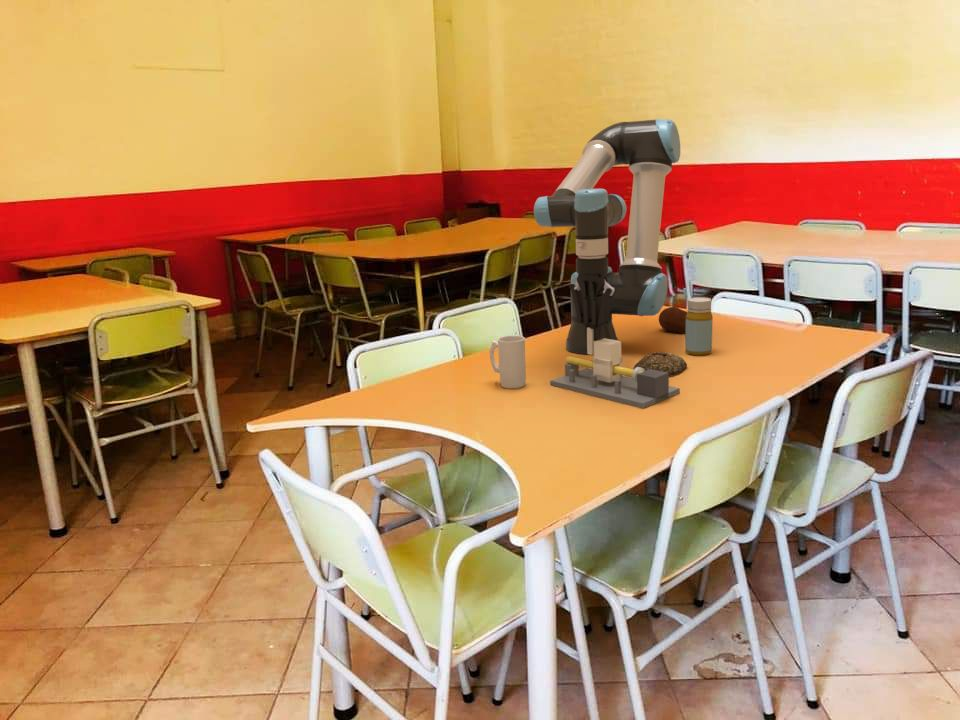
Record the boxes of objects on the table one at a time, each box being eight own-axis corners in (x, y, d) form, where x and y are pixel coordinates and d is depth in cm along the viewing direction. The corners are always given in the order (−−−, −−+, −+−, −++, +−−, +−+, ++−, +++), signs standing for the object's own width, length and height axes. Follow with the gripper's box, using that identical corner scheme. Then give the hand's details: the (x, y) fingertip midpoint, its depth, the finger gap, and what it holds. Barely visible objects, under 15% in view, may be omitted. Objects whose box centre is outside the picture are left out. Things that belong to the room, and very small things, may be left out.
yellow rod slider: (550, 385, 185) (549, 359, 184) (587, 372, 194) (586, 347, 192) (643, 408, 165) (643, 379, 163) (679, 393, 174) (680, 365, 172)
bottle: (683, 355, 204) (684, 301, 201) (686, 349, 211) (687, 296, 207) (710, 356, 202) (711, 302, 198) (712, 350, 208) (714, 297, 204)
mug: (531, 383, 188) (530, 337, 185) (517, 390, 183) (514, 343, 179) (499, 378, 194) (496, 333, 190) (483, 385, 188) (481, 339, 185)
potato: (687, 336, 224) (687, 310, 222) (652, 332, 232) (652, 307, 230) (697, 331, 230) (698, 306, 228) (663, 327, 237) (663, 303, 235)
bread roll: (693, 368, 193) (693, 350, 192) (669, 380, 185) (669, 361, 183) (649, 361, 202) (649, 343, 200) (624, 372, 193) (624, 354, 192)
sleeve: (593, 378, 180) (592, 341, 178) (606, 374, 183) (605, 337, 181) (609, 382, 177) (609, 344, 174) (622, 377, 180) (622, 340, 177)
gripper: (560, 256, 178) (563, 352, 184) (603, 260, 168) (604, 360, 174) (581, 252, 182) (583, 346, 189) (624, 256, 173) (624, 354, 179)
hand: (593, 353), depth 181 cm, fingers closed
